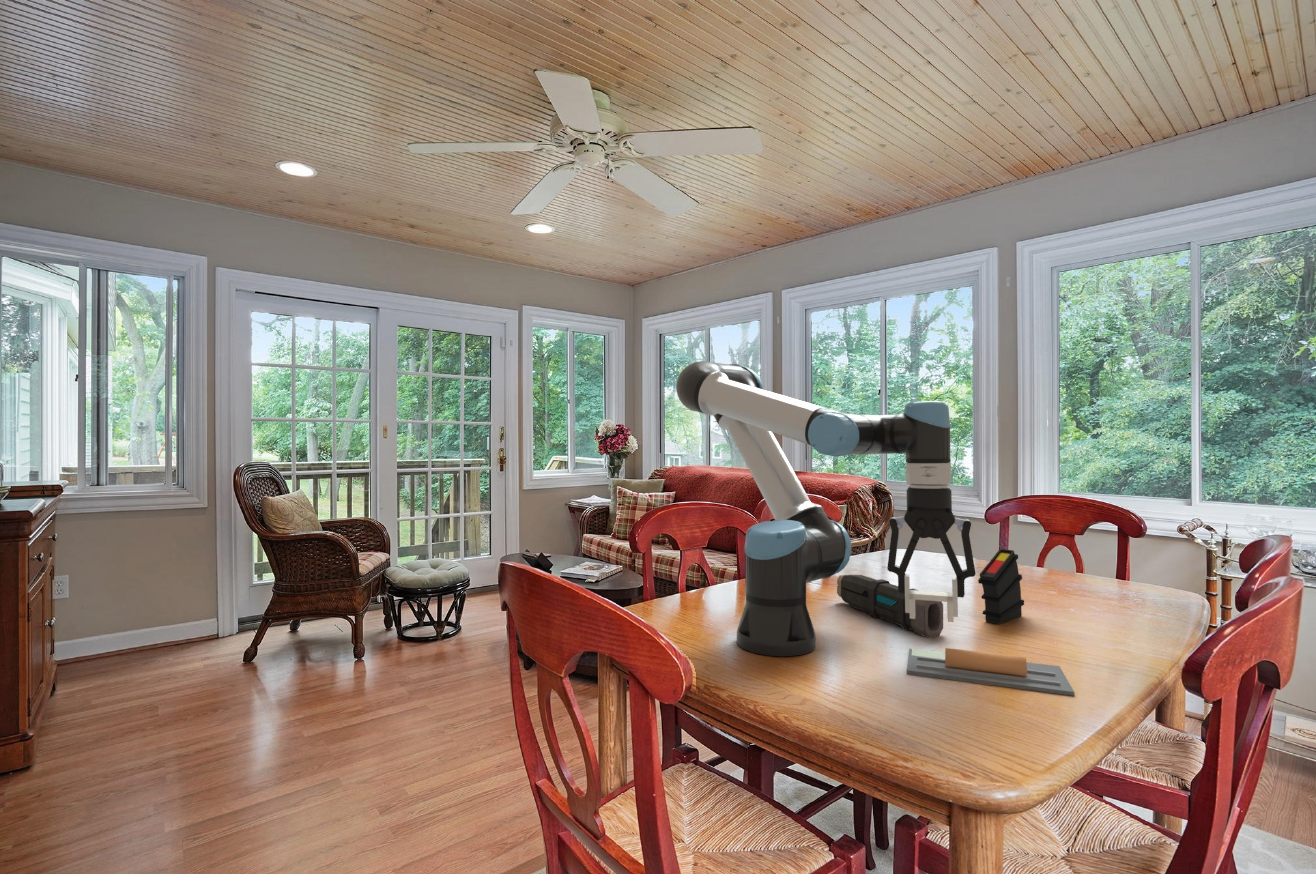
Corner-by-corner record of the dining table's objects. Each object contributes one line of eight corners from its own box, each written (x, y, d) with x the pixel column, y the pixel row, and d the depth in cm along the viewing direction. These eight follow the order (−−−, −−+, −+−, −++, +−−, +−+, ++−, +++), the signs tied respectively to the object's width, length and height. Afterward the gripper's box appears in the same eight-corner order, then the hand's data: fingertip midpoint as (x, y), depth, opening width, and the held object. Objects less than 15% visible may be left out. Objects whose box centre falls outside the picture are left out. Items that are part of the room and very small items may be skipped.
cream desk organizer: (910, 614, 117) (909, 590, 117) (952, 617, 114) (952, 593, 114) (909, 618, 114) (909, 593, 114) (953, 622, 111) (953, 596, 111)
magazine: (1030, 606, 142) (1016, 550, 139) (1005, 642, 135) (990, 583, 131) (1012, 603, 145) (999, 547, 142) (987, 637, 138) (972, 580, 134)
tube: (858, 612, 155) (954, 631, 127) (837, 622, 153) (930, 643, 125) (846, 569, 156) (939, 579, 128) (824, 578, 153) (914, 590, 125)
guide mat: (907, 673, 107) (907, 667, 107) (909, 651, 118) (909, 646, 118) (1074, 695, 97) (1074, 689, 97) (1059, 669, 108) (1059, 663, 108)
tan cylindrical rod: (945, 671, 107) (945, 653, 106) (945, 661, 110) (945, 644, 109) (1026, 681, 102) (1027, 663, 102) (1024, 671, 105) (1024, 653, 105)
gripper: (868, 487, 115) (871, 613, 115) (992, 488, 107) (995, 624, 107) (872, 484, 122) (874, 603, 121) (989, 485, 114) (991, 612, 114)
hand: (931, 612), depth 114 cm, fingers closed on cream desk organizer, 7 cm apart
